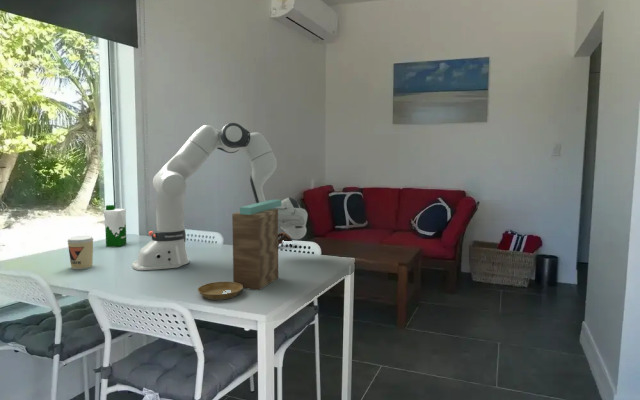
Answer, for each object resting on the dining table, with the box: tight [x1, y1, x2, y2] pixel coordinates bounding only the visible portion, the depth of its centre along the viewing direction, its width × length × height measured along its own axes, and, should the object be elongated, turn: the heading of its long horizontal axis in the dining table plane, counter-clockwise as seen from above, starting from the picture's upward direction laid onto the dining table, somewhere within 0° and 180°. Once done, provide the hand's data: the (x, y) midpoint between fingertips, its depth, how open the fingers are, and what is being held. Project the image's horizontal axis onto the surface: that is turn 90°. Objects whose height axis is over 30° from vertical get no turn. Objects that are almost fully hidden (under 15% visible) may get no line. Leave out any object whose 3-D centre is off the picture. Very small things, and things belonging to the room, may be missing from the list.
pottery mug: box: [278, 231, 293, 245], centre depth 232 cm, size 12×10×8 cm
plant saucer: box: [197, 281, 244, 301], centre depth 156 cm, size 15×15×3 cm
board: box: [239, 199, 282, 215], centre depth 172 cm, size 26×4×2 cm, turn 161°
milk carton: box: [103, 204, 127, 248], centre depth 231 cm, size 9×9×20 cm
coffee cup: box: [67, 235, 94, 270], centre depth 190 cm, size 9×9×12 cm
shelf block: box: [231, 209, 279, 291], centre depth 169 cm, size 16×10×26 cm, turn 161°
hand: (275, 206), depth 183 cm, fingers open, 8 cm apart
